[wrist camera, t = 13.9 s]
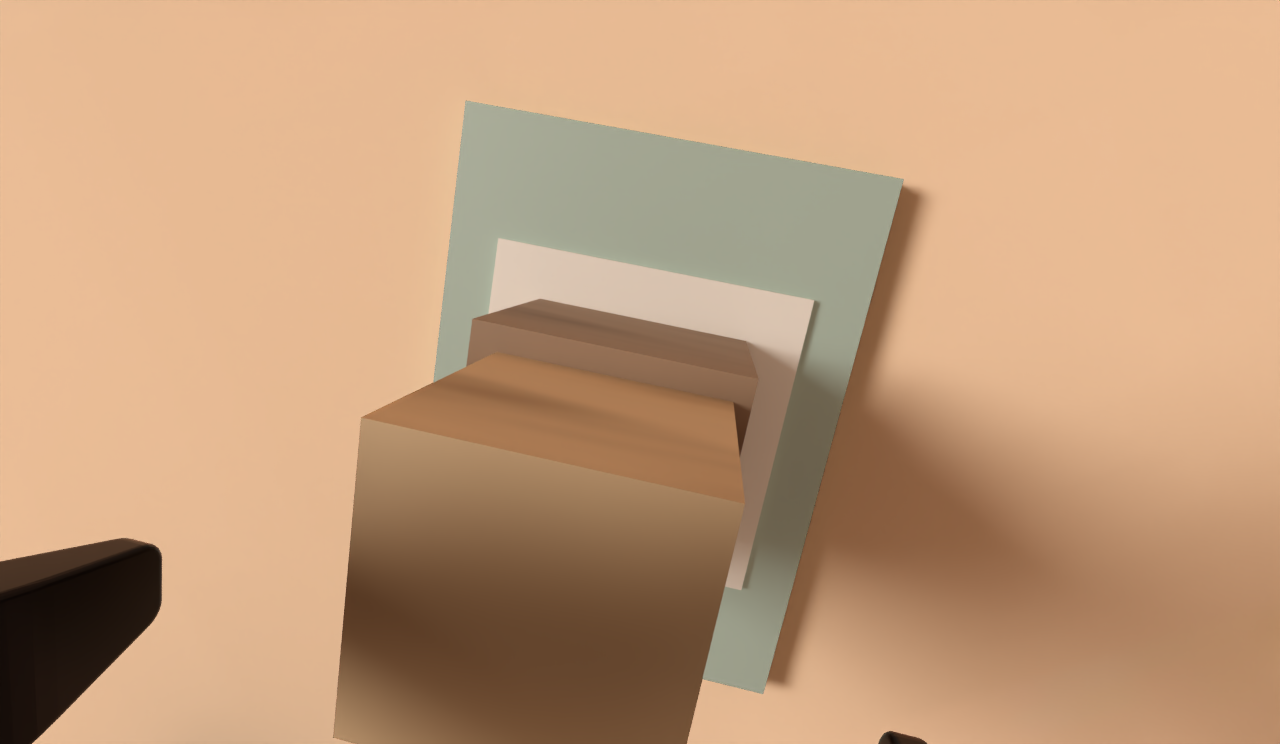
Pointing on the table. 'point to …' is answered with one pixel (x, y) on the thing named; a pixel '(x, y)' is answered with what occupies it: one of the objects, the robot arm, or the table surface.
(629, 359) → the walnut block
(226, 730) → the table surface
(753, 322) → the base board
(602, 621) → the oak cube
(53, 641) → the robot arm
